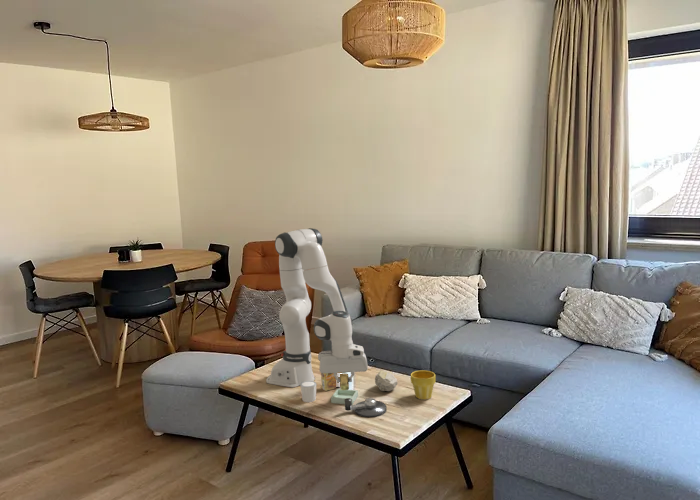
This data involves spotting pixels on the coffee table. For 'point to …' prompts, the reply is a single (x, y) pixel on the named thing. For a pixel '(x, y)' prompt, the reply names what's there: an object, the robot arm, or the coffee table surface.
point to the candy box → (328, 381)
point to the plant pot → (423, 383)
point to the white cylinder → (308, 391)
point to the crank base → (372, 410)
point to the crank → (369, 404)
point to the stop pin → (344, 381)
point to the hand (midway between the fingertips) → (344, 381)
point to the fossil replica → (385, 381)
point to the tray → (344, 396)
